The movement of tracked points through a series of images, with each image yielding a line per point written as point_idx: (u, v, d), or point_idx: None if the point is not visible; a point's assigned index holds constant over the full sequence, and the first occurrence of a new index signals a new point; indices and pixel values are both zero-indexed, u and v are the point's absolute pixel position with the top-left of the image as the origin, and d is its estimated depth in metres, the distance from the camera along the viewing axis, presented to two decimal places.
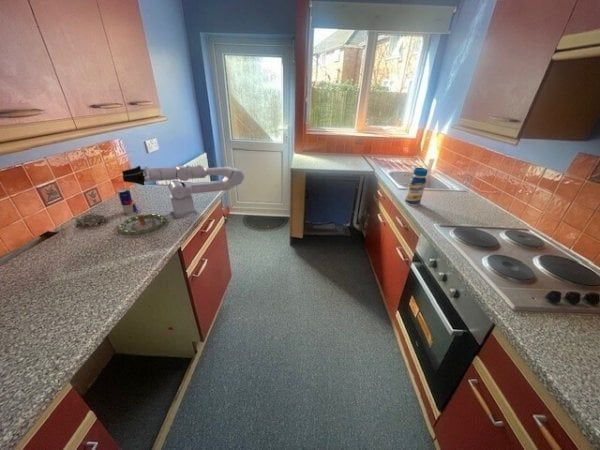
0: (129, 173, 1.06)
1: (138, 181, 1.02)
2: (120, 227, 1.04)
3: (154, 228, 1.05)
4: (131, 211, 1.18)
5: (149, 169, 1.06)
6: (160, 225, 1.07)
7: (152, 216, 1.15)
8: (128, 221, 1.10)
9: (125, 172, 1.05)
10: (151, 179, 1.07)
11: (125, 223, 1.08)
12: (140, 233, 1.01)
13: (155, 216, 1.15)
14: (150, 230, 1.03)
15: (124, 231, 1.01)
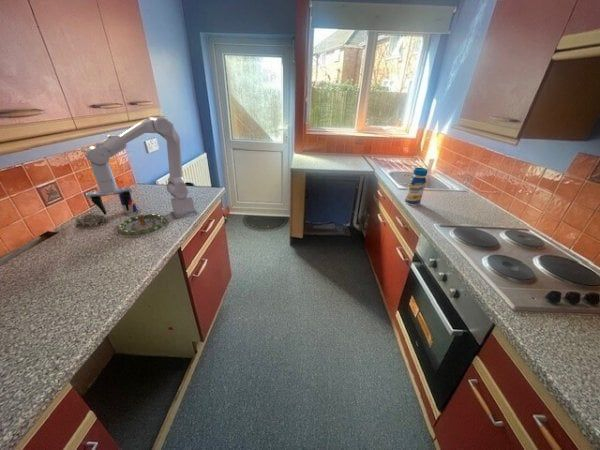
0: (103, 207, 0.98)
1: None
2: (120, 227, 1.04)
3: (154, 228, 1.05)
4: (131, 211, 1.18)
5: (111, 190, 0.95)
6: (160, 225, 1.07)
7: (152, 216, 1.15)
8: (128, 221, 1.10)
9: (105, 211, 0.99)
10: None
11: (125, 223, 1.08)
12: (140, 233, 1.01)
13: (155, 216, 1.15)
14: (150, 230, 1.03)
15: (124, 231, 1.01)
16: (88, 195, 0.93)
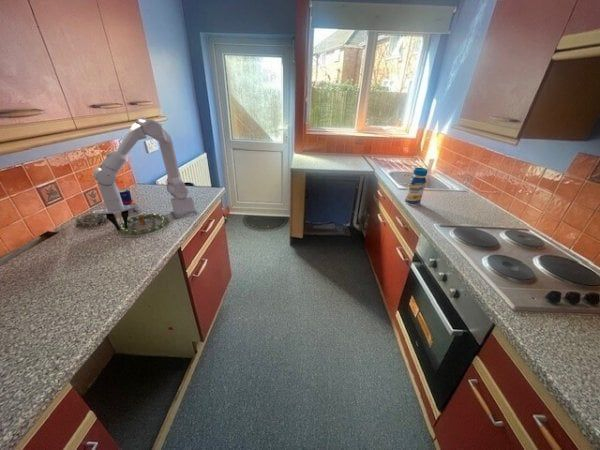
0: (117, 223, 1.03)
1: None
2: (121, 227, 1.04)
3: (155, 228, 1.05)
4: (131, 211, 1.18)
5: (118, 208, 0.99)
6: (161, 225, 1.07)
7: (153, 216, 1.15)
8: (129, 221, 1.10)
9: (118, 227, 1.04)
10: None
11: None
12: (141, 233, 1.02)
13: (156, 216, 1.15)
14: (151, 230, 1.04)
15: (125, 231, 1.01)
16: (95, 214, 0.97)
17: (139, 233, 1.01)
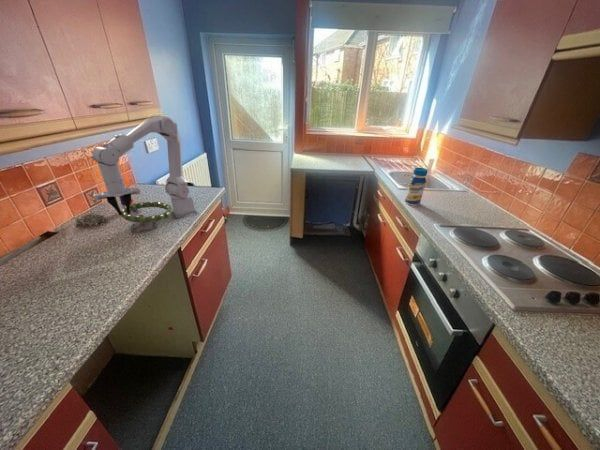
0: (119, 208, 0.97)
1: None
2: (124, 211, 0.98)
3: (160, 216, 0.99)
4: (131, 211, 1.18)
5: (120, 191, 0.93)
6: (167, 213, 1.02)
7: (158, 204, 1.09)
8: (132, 207, 1.04)
9: (120, 212, 0.97)
10: None
11: None
12: (145, 219, 0.95)
13: (161, 205, 1.09)
14: (156, 217, 0.98)
15: (128, 216, 0.95)
16: (96, 196, 0.91)
17: (142, 219, 0.95)
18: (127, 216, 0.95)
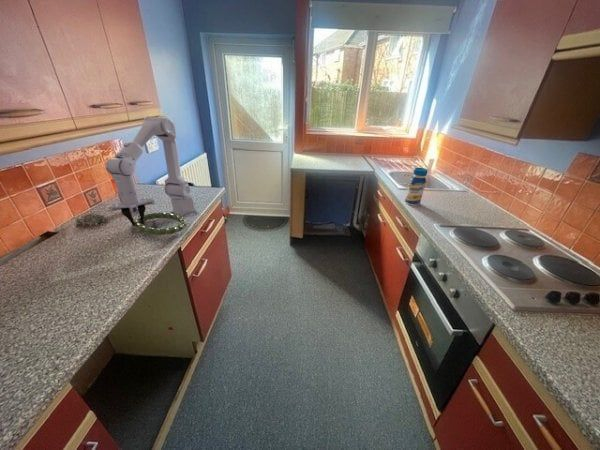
0: (132, 219, 0.95)
1: None
2: (138, 222, 0.96)
3: (175, 228, 0.97)
4: (131, 211, 1.18)
5: (134, 202, 0.91)
6: (181, 226, 1.00)
7: (171, 216, 1.08)
8: (145, 217, 1.02)
9: (134, 222, 0.95)
10: None
11: None
12: (160, 231, 0.94)
13: (174, 216, 1.08)
14: (171, 230, 0.96)
15: (143, 227, 0.93)
16: (110, 208, 0.89)
17: (157, 231, 0.93)
18: (142, 227, 0.93)
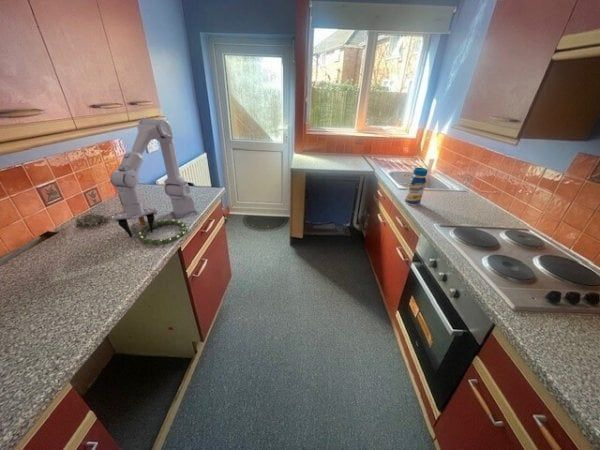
0: (129, 230, 0.96)
1: None
2: (141, 235, 0.98)
3: (177, 237, 0.99)
4: None
5: (138, 213, 0.93)
6: (182, 233, 1.01)
7: (172, 222, 1.09)
8: (148, 227, 1.04)
9: (131, 234, 0.96)
10: None
11: (145, 230, 1.02)
12: (162, 242, 0.96)
13: (175, 222, 1.09)
14: (173, 239, 0.98)
15: (145, 240, 0.96)
16: (114, 219, 0.91)
17: (160, 243, 0.96)
18: (144, 240, 0.95)
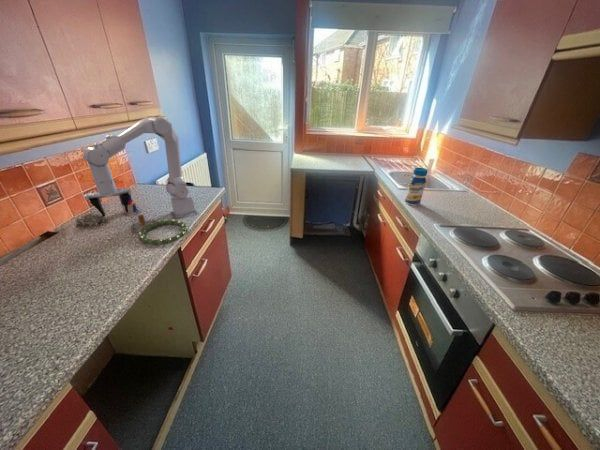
0: (102, 209, 0.97)
1: None
2: (141, 235, 0.98)
3: (177, 237, 0.99)
4: (131, 211, 1.18)
5: (110, 191, 0.93)
6: (182, 233, 1.01)
7: (172, 222, 1.09)
8: (148, 227, 1.04)
9: (104, 213, 0.97)
10: None
11: (145, 230, 1.02)
12: (162, 242, 0.96)
13: (175, 222, 1.09)
14: (173, 239, 0.98)
15: (145, 240, 0.96)
16: (86, 197, 0.91)
17: (160, 243, 0.96)
18: (144, 240, 0.95)
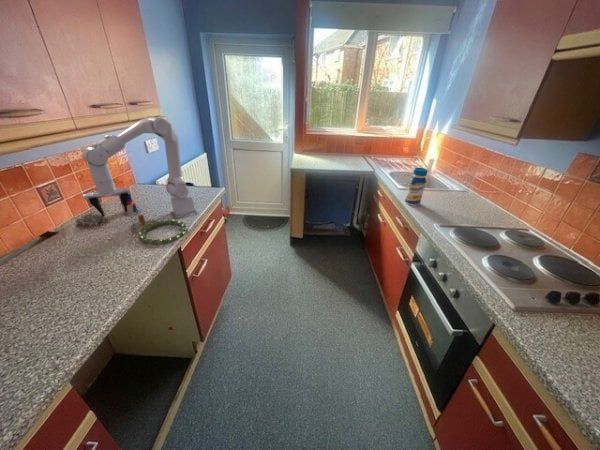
0: (102, 209, 0.97)
1: None
2: (141, 235, 0.98)
3: (177, 237, 0.99)
4: (131, 211, 1.18)
5: (110, 191, 0.94)
6: (182, 233, 1.01)
7: (172, 222, 1.09)
8: (148, 227, 1.04)
9: (103, 213, 0.97)
10: None
11: (145, 230, 1.02)
12: (162, 242, 0.96)
13: (175, 222, 1.09)
14: (173, 239, 0.98)
15: (145, 240, 0.96)
16: (86, 197, 0.92)
17: (160, 243, 0.96)
18: (144, 240, 0.95)
